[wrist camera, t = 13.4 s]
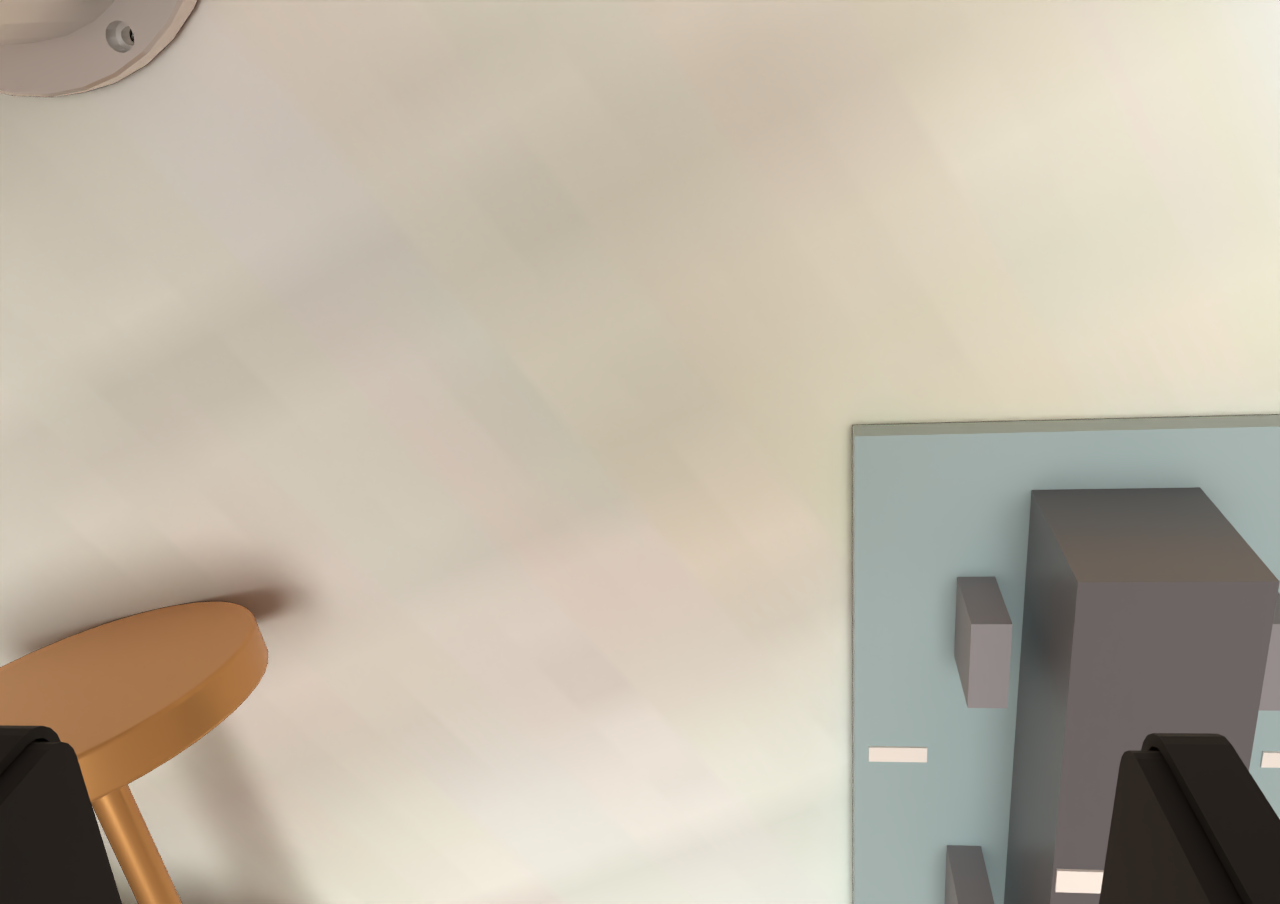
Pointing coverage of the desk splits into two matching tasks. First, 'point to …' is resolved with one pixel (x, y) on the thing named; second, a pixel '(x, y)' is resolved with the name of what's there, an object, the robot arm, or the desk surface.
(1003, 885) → the base
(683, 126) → the desk surface
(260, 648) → the light fixture
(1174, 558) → the dark gray block
